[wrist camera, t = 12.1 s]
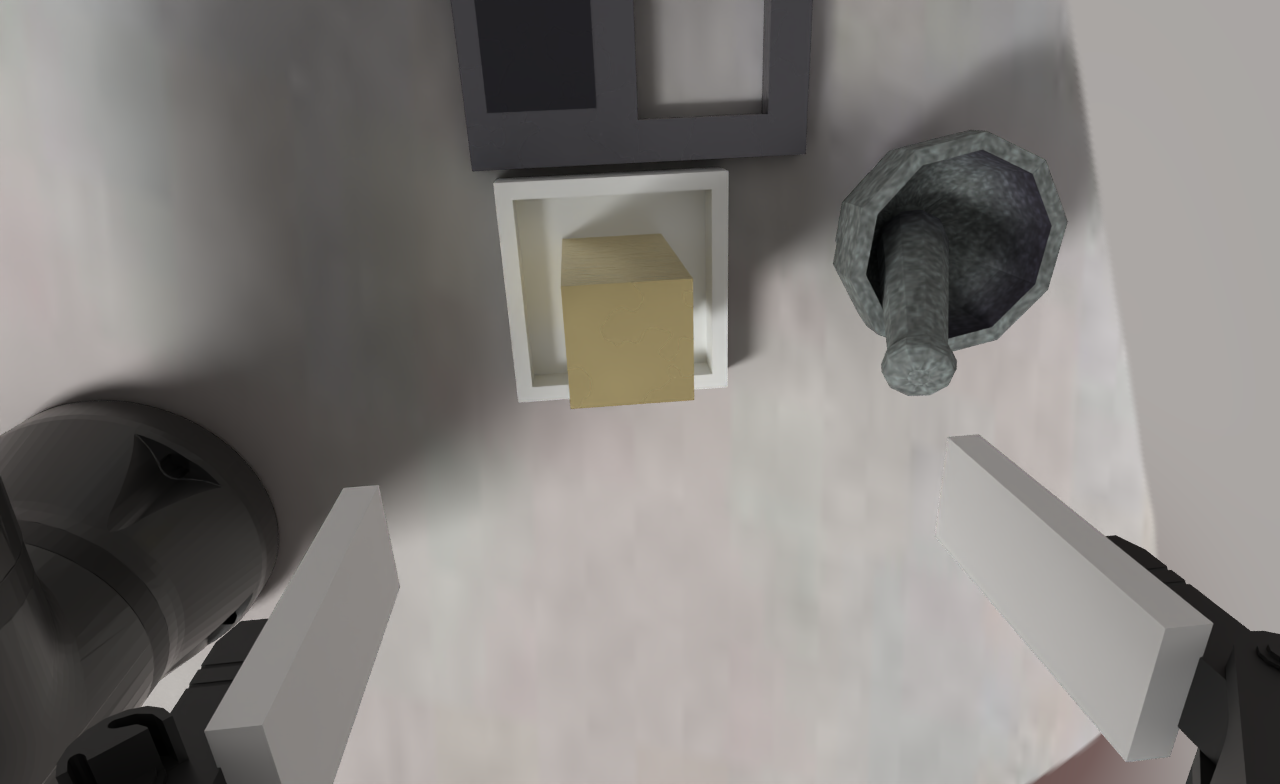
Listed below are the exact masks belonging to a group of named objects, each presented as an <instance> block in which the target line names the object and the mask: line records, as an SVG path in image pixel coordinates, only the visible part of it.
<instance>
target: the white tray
mask: <svg viewBox="0 0 1280 784" xmlns="http://www.w3.org/2000/svg"><path fill="white" fill-rule="evenodd" d="M493 187H494V196H495V205H496V213H497V222H498V231H499V239H500V248H501V257H502V265H503V274H504V283H505V291H506V300H507V309H508V317H509V326H510V335H511V344H512V352H513V361H514V370H515V378H516V387H517V396H518V403H521V402H535V401H548V400H562V399H570V395H569V383H568V371H567V358H566V346H565V334H564V322H563V309H562V297H561V261H562V239H571V238H589V237H607V236H625V235H643V234H662V236H663V237H664V238H665V240H666V241H667V243H668V244H669V245H670V247H671V248H672V250H673V251H674V252H675V254H676V255H677V257H678V258H679V260H680V261H681V262H682V264H683V265H684V267H685V268H686V269H687V271H688V272H689V274H690V275H691V276H692V278H693V326H694V390H696V389H710V388H723V387H727V370H728V192H729V171H728V170H725V169H723V168H721V167H709V168H690V169H671V170H651V171H632V172H613V173H593V174H574V175H555V176H536V177H516V178H497V179H496V181H495V182H494V183H493Z"/></svg>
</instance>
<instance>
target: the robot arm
mask: <svg viewBox="0 0 1280 784" xmlns="http://www.w3.org/2000/svg"><path fill="white" fill-rule="evenodd" d="M935 538H936V539H937V540H938V541H939V542H940V543H941V545H942V546H943V547H944V548H945V549H946V551H947V552H948V553H949V554H950V555H951V556H952V558H953V559H954V560H955V561H956V562H957V563H958V565H959V566H960V567H961V568H962V569H963V571H964V572H965V573H966V574H967V575H968V576H969V578H970V579H971V580H972V581H973V582H974V584H975V585H976V586H977V587H978V588H979V589H980V591H981V592H982V593H983V594H984V595H985V596H986V598H987V599H988V600H989V601H990V602H991V604H992V605H993V606H994V607H995V608H996V609H997V611H998V612H999V613H1000V614H1001V615H1002V616H1003V618H1004V619H1005V620H1006V621H1007V622H1008V624H1009V625H1010V626H1011V627H1012V628H1013V629H1014V631H1015V632H1016V633H1017V634H1018V635H1019V637H1020V638H1021V639H1022V640H1023V641H1024V642H1025V644H1026V645H1027V646H1028V647H1029V648H1030V649H1031V651H1032V652H1033V653H1034V654H1035V655H1036V657H1037V658H1038V659H1039V660H1040V661H1041V662H1042V664H1043V665H1044V666H1045V667H1046V668H1047V670H1048V671H1049V672H1050V673H1051V674H1052V675H1053V677H1054V678H1055V679H1056V680H1057V681H1058V682H1059V684H1060V685H1061V686H1062V687H1063V688H1064V690H1065V691H1066V692H1067V693H1068V694H1069V695H1070V697H1071V698H1072V699H1073V700H1074V701H1075V702H1076V704H1077V705H1078V706H1079V707H1080V708H1081V710H1082V711H1083V712H1084V713H1085V714H1086V715H1087V717H1088V718H1089V719H1090V720H1091V721H1092V723H1093V724H1094V725H1095V726H1096V727H1097V728H1098V730H1099V731H1100V732H1101V733H1102V734H1103V735H1104V737H1105V738H1106V739H1107V740H1108V741H1109V743H1111V745H1112V746H1113V747H1114V748H1115V749H1116V751H1117V752H1118V753H1119V754H1120V755H1121V756H1122V758H1123V759H1124V760H1125V761H1126V762H1132V761H1140V760H1148V759H1157V758H1165V757H1170V755H1171V752H1172V749H1173V746H1174V743H1175V740H1176V737H1177V734H1178V730H1179V728H1180V729H1181V731H1182V732H1184V734H1185V735H1187V737H1188V738H1189V739H1190V740H1191V741H1192V742H1193V743H1194V744H1195V745H1196V746H1197V747H1198V749H1197V752H1196V755H1195V758H1194V761H1193V764H1192V767H1191V770H1190V773H1189V776H1188V779H1187V781H1186V784H1280V634H1276V633H1271V632H1266V631H1250V630H1249V629H1247V628H1246V627H1245V626H1243V625H1242V624H1241V623H1239V622H1238V621H1237V620H1236V619H1234V618H1233V617H1232V616H1230V615H1229V614H1228V613H1227V612H1225V611H1224V610H1223V609H1221V608H1220V607H1219V606H1217V605H1216V604H1215V603H1213V602H1212V601H1211V600H1210V599H1208V598H1207V597H1206V596H1205V595H1203V594H1202V593H1201V592H1199V591H1198V590H1197V589H1195V588H1194V587H1193V586H1192V585H1190V584H1186V583H1185V580H1184V579H1183V578H1181V577H1180V576H1179V575H1177V574H1176V573H1175V572H1173V571H1172V570H1168V569H1167V566H1166V565H1164V564H1163V563H1162V562H1161V561H1159V560H1158V559H1157V558H1155V557H1154V556H1153V555H1151V554H1150V553H1149V552H1148V551H1146V550H1145V549H1143V548H1141V547H1139V546H1137V545H1135V544H1133V543H1131V542H1128V541H1126V540H1124V539H1122V538H1120V537H1118V536H1116V535H1114V536H1104V535H1103V534H1102V533H1101V532H1099V531H1098V530H1097V529H1096V528H1094V527H1093V526H1092V525H1091V524H1089V523H1088V522H1087V521H1086V520H1084V519H1083V518H1082V517H1081V516H1079V515H1078V514H1077V513H1076V512H1074V511H1073V510H1072V509H1071V508H1070V507H1068V506H1067V505H1066V504H1065V503H1063V502H1062V501H1061V500H1060V499H1058V498H1057V497H1056V496H1055V495H1053V494H1052V493H1051V492H1050V491H1048V490H1047V489H1046V488H1045V487H1043V486H1042V485H1041V484H1040V483H1038V482H1037V481H1036V480H1035V479H1034V478H1032V477H1031V476H1030V475H1029V474H1027V473H1026V472H1025V471H1024V470H1022V469H1021V468H1020V467H1019V466H1017V465H1016V464H1015V463H1014V462H1012V461H1011V460H1010V459H1009V458H1007V457H1006V456H1005V455H1004V454H1002V453H1001V452H1000V451H999V450H998V449H996V448H995V447H994V446H993V445H991V444H990V443H989V442H988V441H986V440H985V439H984V438H983V437H981V436H980V435H967V436H955V437H948V438H947V446H946V453H945V461H944V468H943V476H942V483H941V491H940V498H939V506H938V513H937V521H936V528H935ZM277 551H278V527H277V520H276V516H275V512H274V509H273V506H272V503H271V501H270V499H269V496H268V494H267V492H266V490H265V488H264V487H263V485H262V483H261V482H260V480H259V479H258V477H257V476H256V474H255V473H254V472H253V470H252V469H251V468H250V467H249V466H248V464H247V463H246V462H245V461H244V460H243V459H242V458H241V457H240V456H239V455H238V454H237V453H236V452H235V451H234V450H233V449H232V448H230V447H229V446H228V445H227V444H226V443H224V442H223V441H222V440H220V439H219V438H218V437H216V436H215V435H213V434H212V433H210V432H209V431H207V430H206V429H204V428H202V427H200V426H198V425H197V424H195V423H193V422H191V421H189V420H187V419H185V418H182V417H180V416H177V415H175V414H173V413H170V412H167V411H164V410H161V409H157V408H154V407H150V406H146V405H141V404H136V403H130V402H122V401H104V400H100V401H84V402H76V403H71V404H66V405H62V406H58V407H55V408H52V409H49V410H46V411H44V412H41V413H39V414H37V415H35V416H33V417H31V418H29V419H27V420H26V421H24V422H22V423H21V424H19V425H17V426H16V427H14V428H12V429H11V430H9V431H7V432H5V433H4V434H2V435H1V436H0V784H333V782H334V779H335V776H336V773H337V770H338V768H339V765H340V762H341V759H342V756H343V753H344V750H345V747H346V744H347V741H348V738H349V735H350V732H351V729H352V726H353V723H354V720H355V718H356V715H357V712H358V709H359V706H360V703H361V700H362V697H363V694H364V691H365V688H366V685H367V682H368V679H369V676H370V673H371V671H372V668H373V665H374V662H375V659H376V656H377V653H378V650H379V647H380V644H381V641H382V638H383V635H384V632H385V629H386V626H387V623H388V621H389V618H390V615H391V612H392V609H393V606H394V603H395V600H396V597H397V594H398V591H399V588H400V584H399V579H398V575H397V570H396V565H395V560H394V555H393V551H392V546H391V541H390V536H389V531H388V526H387V522H386V517H385V512H384V507H383V502H382V498H381V493H380V488H379V485H372V486H360V487H348V488H343V490H342V491H341V493H340V495H339V497H338V498H337V500H336V502H335V504H334V505H333V507H332V509H331V511H330V512H329V514H328V516H327V518H326V519H325V521H324V523H323V525H322V526H321V528H320V530H319V532H318V533H317V535H316V537H315V539H314V540H313V542H312V544H311V546H310V547H309V549H308V551H307V552H306V554H305V556H304V558H303V559H302V561H301V563H300V565H299V566H298V568H297V570H296V572H295V573H294V575H293V577H292V579H291V580H290V582H289V584H288V586H287V587H286V589H285V591H284V593H283V594H282V596H281V598H280V600H279V601H278V603H277V605H276V607H275V608H274V610H273V612H272V614H271V615H270V617H269V619H260V620H249V621H240V620H241V619H242V617H243V616H244V615H245V614H246V613H247V612H248V610H249V609H250V608H251V606H252V605H253V603H254V602H255V600H256V598H257V597H258V595H259V594H260V592H261V591H262V589H263V587H264V586H265V584H266V582H267V581H268V579H269V577H270V575H271V573H272V570H273V568H274V565H275V561H276V557H277ZM239 621H240V622H239ZM238 622H239V623H238ZM237 623H238V624H237ZM236 624H237V625H236ZM235 625H236V626H235ZM234 626H235V627H234ZM231 628H232V629H231ZM230 629H231V630H230ZM229 630H230V631H229ZM228 631H229V632H228ZM226 632H228V633H226ZM225 633H226V634H225ZM224 634H225V635H224ZM222 635H224V636H223V637H222V638H221V639H219V640H218V641H217V642H216V643H215V645H214V646H213V648H212V649H211V651H210V653H209V654H208V656H207V657H206V659H205V660H204V662H203V663H202V665H201V666H202V667H201V669H200V670H198V671H197V673H196V674H195V676H194V677H193V679H192V680H191V682H190V684H189V689H186V690H185V691H184V693H183V694H182V696H181V698H180V699H179V701H178V702H177V704H176V705H175V707H174V708H173V710H172V711H171V713H169V712H167V711H166V710H165V709H164V708H159V707H151V706H145V707H141V706H142V705H143V703H144V702H145V700H146V699H147V697H148V696H149V695H150V693H151V692H152V690H153V689H154V687H155V686H156V685H157V683H158V682H159V681H160V680H161V679H162V678H164V677H165V676H167V675H168V674H169V673H171V672H172V671H174V670H175V669H176V668H178V667H179V666H181V665H182V664H183V663H185V662H186V661H188V660H189V659H190V658H192V657H193V656H195V655H196V654H197V653H199V652H200V651H201V650H202V649H204V648H205V647H206V646H207V645H208V644H210V643H212V642H214V641H215V640H217V639H218V638H219V637H221V636H222Z"/></svg>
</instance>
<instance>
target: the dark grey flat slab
mask: <svg viewBox="0 0 1280 784" xmlns="http://www.w3.org/2000/svg"><path fill="white" fill-rule="evenodd" d="M451 5H452V13H453V21H454V29H455V37H456V45H457V53H458V61H459V69H460V77H461V85H462V93H463V101H464V109H465V117H466V125H467V133H468V141H469V149H470V157H471V165H472V171H484V170H504V169H523V168H543V167H562V166H582V165H602V164H621V163H641V162H660V161H680V160H700V159H719V158H739V157H758V156H778V155H798V154H806V134H807V111H808V89H809V66H810V44H811V22H812V0H764V39H763V85H762V114H741V115H720V116H699V117H677V118H656V119H638V108H637V83H636V57H635V32H634V7H633V0H451Z"/></svg>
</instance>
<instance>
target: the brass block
mask: <svg viewBox="0 0 1280 784" xmlns="http://www.w3.org/2000/svg"><path fill="white" fill-rule="evenodd" d="M561 297H562V309H563V322H564V334H565V346H566V358H567V371H568V383H569V395H570V407H571V409H577V408H591V407H605V406H618V405H632V404H646V403H660V402H674V401H687V400H694V326H693V278H692V276H691V275H690V274H689V272H688V271H687V269H686V268H685V267H684V265H683V264H682V262H681V261H680V260H679V258H678V257H677V255H676V254H675V252H674V251H673V250H672V248H671V247H670V245H669V244H668V243H667V241H666V240H665V238H664V237H663V236H662V234H643V235H625V236H607V237H589V238H571V239H562V261H561Z"/></svg>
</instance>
